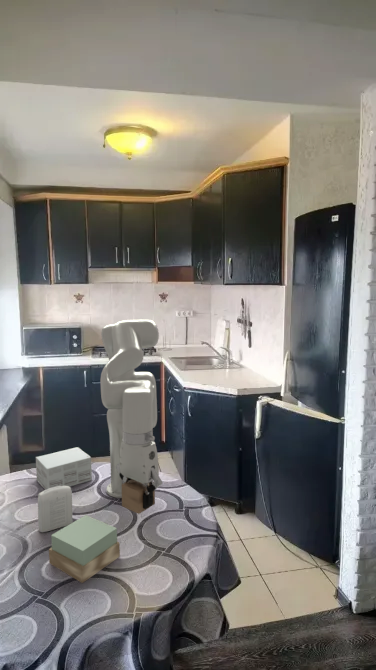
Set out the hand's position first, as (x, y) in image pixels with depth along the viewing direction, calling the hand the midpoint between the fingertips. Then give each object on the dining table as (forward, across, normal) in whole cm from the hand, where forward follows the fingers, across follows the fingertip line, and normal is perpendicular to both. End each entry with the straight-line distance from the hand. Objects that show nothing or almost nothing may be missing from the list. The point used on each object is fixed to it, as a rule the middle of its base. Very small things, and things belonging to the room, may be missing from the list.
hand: (138, 501), depth 112 cm
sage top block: (+13, +12, +8) cm, 20 cm away
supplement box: (+19, +56, -18) cm, 62 cm away
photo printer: (+18, +32, +3) cm, 37 cm away
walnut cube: (+1, 0, 0) cm, 1 cm away
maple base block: (+18, +12, +8) cm, 23 cm away
